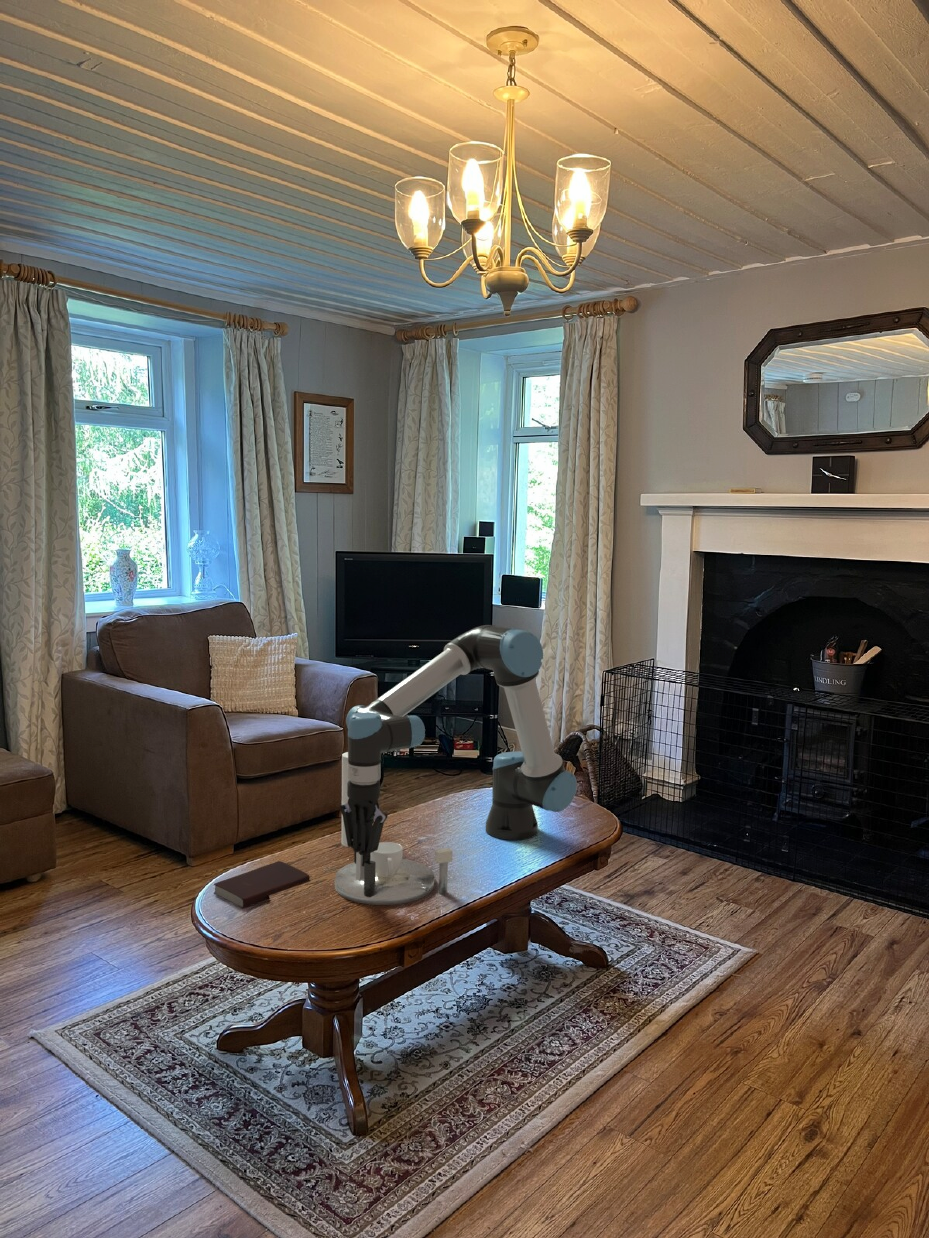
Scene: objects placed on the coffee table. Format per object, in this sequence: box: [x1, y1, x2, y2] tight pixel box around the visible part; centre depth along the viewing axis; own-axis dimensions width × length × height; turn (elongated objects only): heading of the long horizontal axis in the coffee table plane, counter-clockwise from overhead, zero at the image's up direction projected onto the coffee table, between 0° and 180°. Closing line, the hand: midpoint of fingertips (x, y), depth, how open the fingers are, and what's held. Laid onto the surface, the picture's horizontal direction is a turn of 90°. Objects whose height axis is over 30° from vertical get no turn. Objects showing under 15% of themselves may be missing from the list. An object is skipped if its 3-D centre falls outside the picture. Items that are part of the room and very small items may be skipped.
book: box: [213, 860, 311, 909], centre depth 215 cm, size 12×19×3 cm, turn 138°
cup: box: [370, 841, 404, 878], centre depth 216 cm, size 8×10×7 cm
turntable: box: [334, 857, 435, 906], centre depth 216 cm, size 24×24×10 cm
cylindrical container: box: [341, 751, 350, 848], centre depth 246 cm, size 7×7×25 cm
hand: (361, 878), depth 209 cm, fingers closed
